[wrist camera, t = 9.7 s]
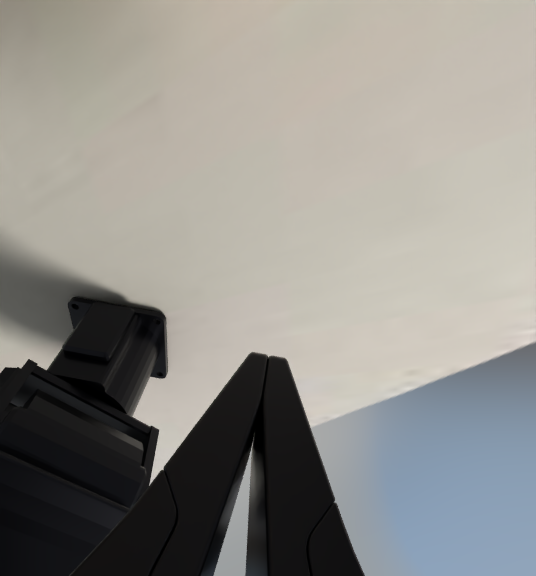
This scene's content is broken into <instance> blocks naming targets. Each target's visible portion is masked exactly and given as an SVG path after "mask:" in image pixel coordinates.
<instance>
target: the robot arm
mask: <svg viewBox="0 0 536 576" xmlns="http://www.w3.org/2000/svg"><path fill="white" fill-rule="evenodd" d="M76 304H77V305H76ZM68 308H69V312H70V316H71V320H72V324H73V329H74V330H73V332H72V333H71V335H70V336H69V337H68V339H67V340H66V342H65V343H64V345H63V346H62V349H61V351H60V352H59V354H58V355H57V356H56V358H55V359H54V361H53V362H52V363H51V365H50V366H49V368H48V369H47V371H46V370H45V369H43V368H41V367H39V366H37V363H35V362H33V361H32V360H30V359H28V361H27V362H26V363H25V365H24V366H23V367H22V368H21V369H20V368H19V367H17V368H8V367H5V368H4V370H3V371H2V372H1V373H0V576H213V575H214V572H215V568H216V565H217V562H218V558H219V555H220V552H221V548H222V545H223V542H224V538H225V535H226V532H227V528H228V525H229V522H230V518H231V515H232V511H233V508H234V505H235V502H236V499H237V495H238V492H239V488H240V485H241V482H242V479H243V475H244V472H245V469H246V465H247V462H248V459H249V455H250V451H251V447H252V457H251V477H250V496H249V497H250V498H249V515H248V536H247V556H246V575H245V576H365V575H364V573H363V571H362V568H361V566H360V564H359V562H358V559H357V557H356V554H355V552H354V550H353V547H352V544H351V542H350V539H349V536H348V534H347V531H346V529H345V526H344V523H343V520H342V517H341V514H340V511H339V509H338V506H337V504H336V503H334V501H335V497H334V495H333V492H332V489H331V486H330V483H329V480H328V477H327V474H326V471H325V468H324V466H323V463H322V460H321V457H320V454H319V451H318V448H317V445H316V442H315V440H314V436H313V434H312V431H311V428H310V425H309V422H308V419H307V416H306V413H305V410H304V407H303V405H302V402H301V399H300V396H299V393H298V390H297V387H296V384H295V381H294V378H293V376H292V373H291V370H290V367H289V364H288V361H287V360H286V359H285V358H282V357H277V356H269V358H268V356H267V355H266V354H261V353H255V352H252V353H250V354H249V355H248V356H247V358H246V359H245V360H244V362H243V363H242V364H241V366H240V367H239V368H238V370H237V371H236V372H235V373H234V375H233V376H232V377H231V379H230V380H229V381H228V383H227V384H226V385H225V387H224V388H223V389H222V391H221V392H220V393H219V395H218V396H217V397H216V399H215V400H214V401H213V403H212V404H211V405H210V407H209V408H208V409H207V411H206V412H205V413H204V415H203V416H202V417H201V419H200V420H199V421H198V422H197V424H196V425H195V426H194V428H193V429H192V430H191V432H190V433H189V434H188V436H187V437H186V438H185V440H184V441H183V442H182V444H181V445H180V446H179V448H178V449H177V450H176V452H175V453H174V454H173V456H172V457H171V458H170V460H169V461H168V462H167V464H166V465H165V466H164V470H161V471H160V472H159V474H158V475H157V476H156V478H155V479H154V480H153V482H152V483H151V484H150V486H149V483H150V478H151V472H152V467H153V461H154V456H155V450H156V445H157V439H158V434H159V429H157V428H155V427H153V426H148V425H146V424H144V423H142V422H141V421H139V420H137V419H135V418H133V417H132V416H133V414H134V412H135V409H136V407H137V405H138V402H139V400H140V398H141V396H142V393H143V391H144V389H145V387H146V384H147V382H148V380H149V377H155V378H162V379H163V378H165V377H166V375H167V373H168V358H167V329H166V317H165V315H164V314H162V313H160V312H155V311H150V310H144V309H139V308H133V307H128V306H122V305H117V304H111V303H106V302H101V301H95V300H90V299H84V298H79V297H73V298H72V299H71V300H70V301H69V303H68ZM157 319H158V320H157ZM253 438H254V439H253ZM252 443H253V446H252Z"/></svg>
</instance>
